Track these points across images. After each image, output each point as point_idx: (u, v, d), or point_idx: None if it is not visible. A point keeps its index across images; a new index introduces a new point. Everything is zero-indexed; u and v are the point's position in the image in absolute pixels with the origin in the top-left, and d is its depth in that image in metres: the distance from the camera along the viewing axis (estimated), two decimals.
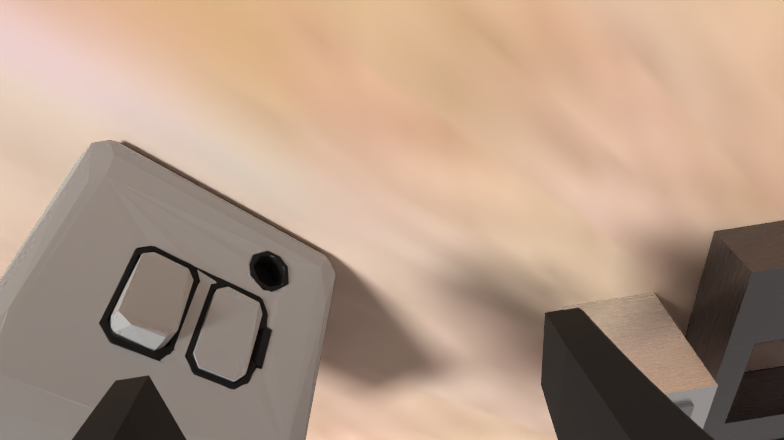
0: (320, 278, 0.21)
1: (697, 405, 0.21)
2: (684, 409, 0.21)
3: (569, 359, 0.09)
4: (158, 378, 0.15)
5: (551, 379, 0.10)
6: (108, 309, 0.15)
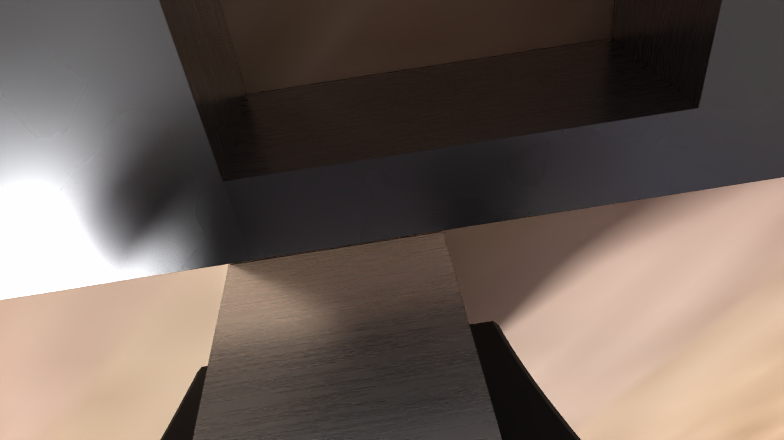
0: None
1: None
2: None
3: None
4: None
5: None
6: None
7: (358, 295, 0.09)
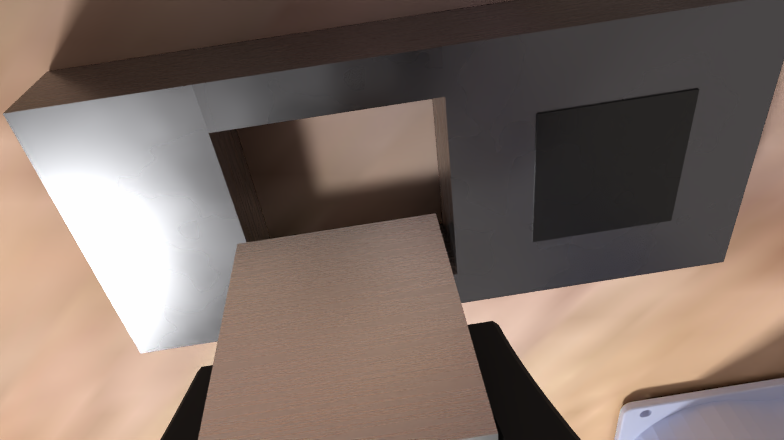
0: None
1: None
2: None
3: None
4: None
5: None
6: None
7: (357, 269, 0.10)
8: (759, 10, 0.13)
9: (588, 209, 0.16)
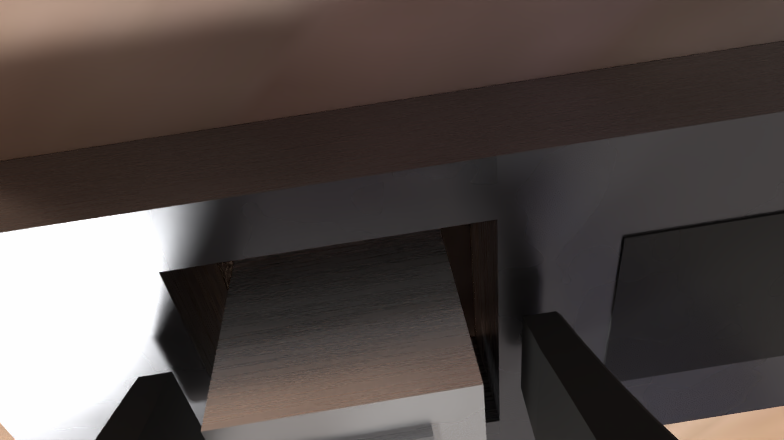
0: None
1: None
2: None
3: (543, 363, 0.09)
4: None
5: (529, 383, 0.10)
6: None
7: (354, 242, 0.11)
8: None
9: (680, 345, 0.12)
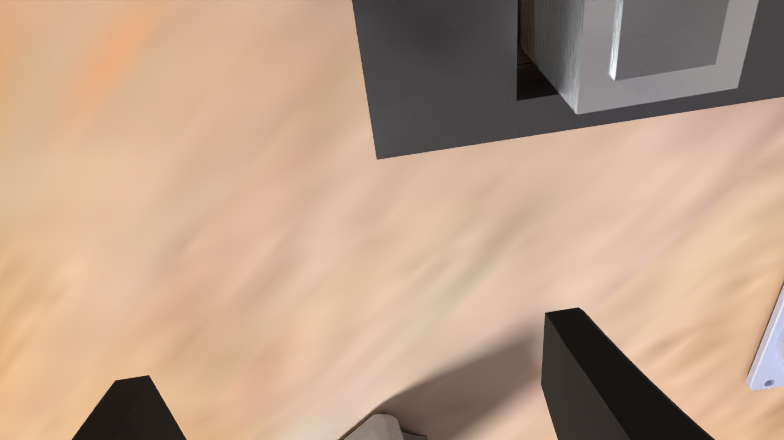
0: (377, 437, 0.27)
1: None
2: None
3: (569, 359, 0.09)
4: None
5: (551, 379, 0.10)
6: None
7: None
8: None
9: None
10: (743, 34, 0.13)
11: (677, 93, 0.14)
